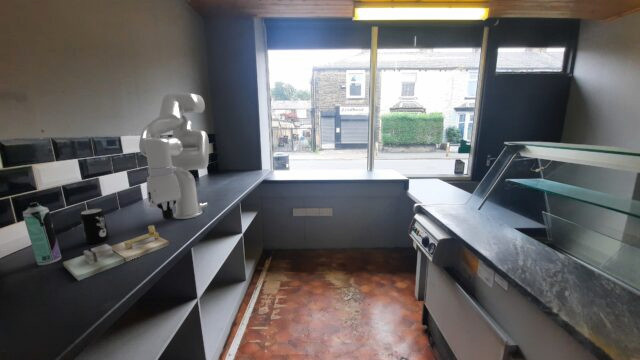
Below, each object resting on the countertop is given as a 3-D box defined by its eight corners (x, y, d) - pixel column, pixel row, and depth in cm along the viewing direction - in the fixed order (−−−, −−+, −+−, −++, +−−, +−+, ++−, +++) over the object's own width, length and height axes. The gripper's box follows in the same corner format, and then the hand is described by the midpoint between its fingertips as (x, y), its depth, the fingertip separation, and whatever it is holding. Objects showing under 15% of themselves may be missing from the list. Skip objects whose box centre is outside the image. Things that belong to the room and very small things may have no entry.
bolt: (156, 236, 95) (154, 224, 94) (159, 237, 94) (157, 225, 93) (125, 246, 87) (122, 234, 86) (128, 248, 86) (125, 235, 85)
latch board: (151, 236, 99) (149, 225, 98) (169, 245, 92) (167, 233, 91) (64, 266, 79) (60, 253, 78) (78, 280, 71) (74, 266, 70)
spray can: (65, 257, 84) (50, 200, 80) (43, 266, 79) (26, 206, 75) (55, 255, 86) (40, 199, 81) (33, 263, 81) (15, 204, 76)
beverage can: (96, 245, 93) (88, 214, 90) (82, 243, 94) (74, 213, 91) (113, 237, 99) (107, 208, 96) (100, 236, 100) (93, 207, 98)
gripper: (176, 168, 101) (182, 212, 105) (133, 174, 89) (142, 223, 93) (186, 169, 97) (192, 214, 101) (143, 175, 85) (151, 227, 89)
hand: (168, 218), depth 97 cm, fingers closed
